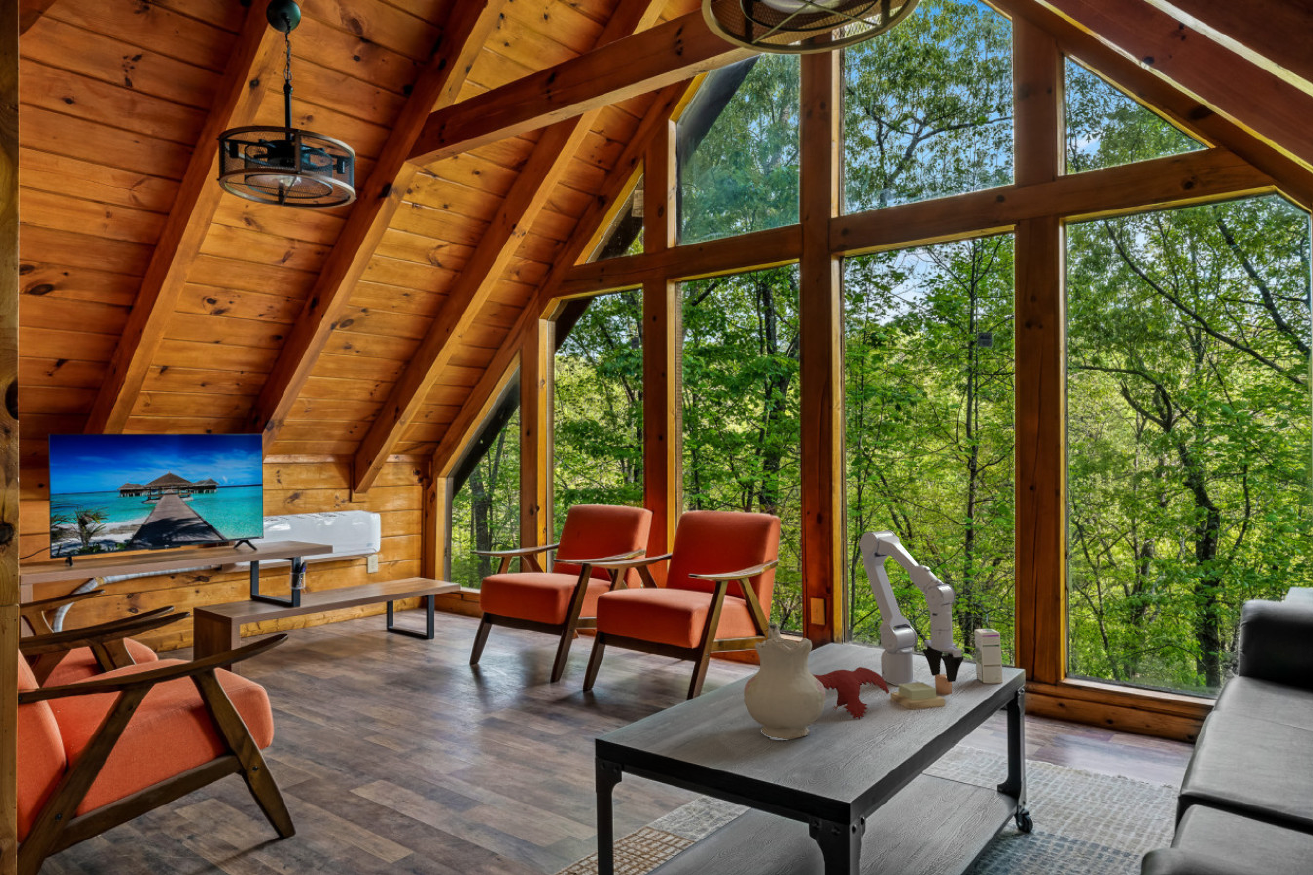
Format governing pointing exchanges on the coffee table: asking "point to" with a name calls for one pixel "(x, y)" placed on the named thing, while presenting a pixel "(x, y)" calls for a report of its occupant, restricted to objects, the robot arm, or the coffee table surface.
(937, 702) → the maple slab
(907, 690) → the sage slab
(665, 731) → the coffee table surface
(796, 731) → the ceramic pitcher
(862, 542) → the robot arm
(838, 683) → the decorative bird sculpture
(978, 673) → the syrup box
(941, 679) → the peach domed cylinder
